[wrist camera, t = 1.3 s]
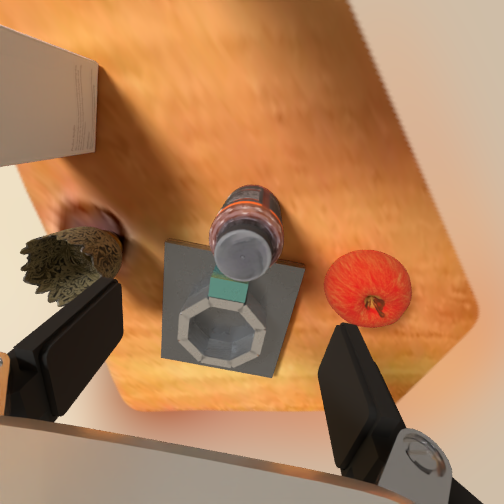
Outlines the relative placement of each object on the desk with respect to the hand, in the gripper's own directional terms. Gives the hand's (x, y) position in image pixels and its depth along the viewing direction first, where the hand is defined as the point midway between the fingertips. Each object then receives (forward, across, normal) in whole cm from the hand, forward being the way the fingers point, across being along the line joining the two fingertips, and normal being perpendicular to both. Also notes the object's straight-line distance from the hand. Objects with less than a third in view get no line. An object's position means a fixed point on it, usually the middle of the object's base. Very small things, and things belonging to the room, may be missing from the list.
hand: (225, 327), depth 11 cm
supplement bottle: (+18, 0, 0) cm, 18 cm away
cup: (+18, +16, +7) cm, 25 cm away
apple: (+18, -13, +4) cm, 23 cm away
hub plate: (+18, +1, +14) cm, 23 cm away
